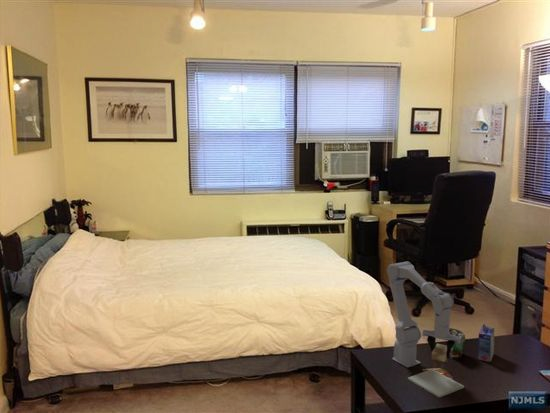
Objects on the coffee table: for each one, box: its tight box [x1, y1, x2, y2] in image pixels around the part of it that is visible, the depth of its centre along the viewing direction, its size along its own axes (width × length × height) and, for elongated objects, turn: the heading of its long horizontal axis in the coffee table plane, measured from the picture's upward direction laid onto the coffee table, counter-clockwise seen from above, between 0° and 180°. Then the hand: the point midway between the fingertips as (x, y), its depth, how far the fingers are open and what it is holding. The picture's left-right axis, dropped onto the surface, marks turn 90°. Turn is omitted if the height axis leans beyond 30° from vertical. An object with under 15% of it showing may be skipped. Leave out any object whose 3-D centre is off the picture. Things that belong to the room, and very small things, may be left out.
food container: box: [449, 327, 466, 359], centre depth 213 cm, size 12×6×10 cm, turn 168°
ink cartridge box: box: [477, 323, 495, 363], centre depth 210 cm, size 10×6×14 cm, turn 148°
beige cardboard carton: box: [431, 343, 449, 370], centre depth 189 cm, size 5×9×6 cm, turn 148°
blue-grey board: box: [407, 368, 465, 398], centre depth 188 cm, size 16×14×1 cm
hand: (440, 356), depth 189 cm, fingers closed on beige cardboard carton, 5 cm apart
